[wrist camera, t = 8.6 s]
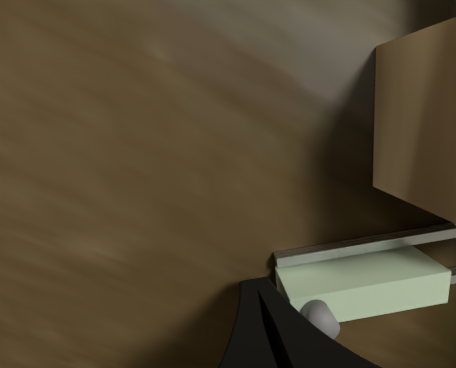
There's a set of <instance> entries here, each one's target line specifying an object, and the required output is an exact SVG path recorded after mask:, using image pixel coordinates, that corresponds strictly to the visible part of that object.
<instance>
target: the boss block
mask: <svg viewBox="0 0 456 368" xmlns="http://www.w3.org/2000/svg"><path fill="white" fill-rule="evenodd" d="M373 187H375V188H377V189H380V190H382V191H384V192H386V193H389V194H391V195H393V196H395V197H397V198H400V199H402V200H404V201H406V202H408V203H411V204H413V205H415V206H417V207H419V208H422V209H424V210H426V211H428V212H431V213H433V214H435V215H437V216H439V217H442V218H444V219H446V220H448V221H450V222H453V223H455V224H456V17H454V18H451V19H449V20H446V21H443V22H441V23H438V24H435V25H432V26H430V27H427V28H424V29H422V30H419V31H416V32H414V33H411V34H408V35H405V36H403V37H400V38H397V39H395V40H392V41H389V42H387V43H384V44H381V45H378V46H376V70H375V113H374V155H373Z"/></svg>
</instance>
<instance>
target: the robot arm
mask: <svg viewBox="0 0 456 368" xmlns="http://www.w3.org/2000/svg"><path fill="white" fill-rule="evenodd" d="M239 290H240V291H239V302H238V308H237V313H236V318H235V322H234V326H233V329H232V333H231V336H230V339H229V342H228V345H227V348H226V350H225V353H224V355H223V358H222V360H221V362H220V365H219V367H218V368H382V367H379V366H377V365H375V364H373V363H371V362H369V361H368V360H366V359H364V358H362V357H360V356H359V355H357V354H355V353H353V352H352V351H350V350H349V349H347V348H345V347H344V346H342V345H341V344H339V343H338V342H336V341H334V340H333V339H332V338H330V337H329V336H328V335H326V334H325V333H323V332H322V331H321V330H320V329H318V328H317V327H316V326H314V325H313V324H312V323H311V322H310V321H308V320H307V319H306V318H305V317H304V316H303V315H302V314H301V313H300V312H298V311H297V310H296V309H295V308H294V307H293V306H292V305H291V304H290V303H289V302H288V301H287V299H286V298H285V297H284V296H283V295H282V294H281V293H280V292H279V291H278V290H277V288H276V287H275V286H274V285H273V283H272V282H271V281H270V279H269V278H267V277H262V278H256V279H250V280H244V281H241V282H240V283H239Z"/></svg>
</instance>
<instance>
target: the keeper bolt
mask: <svg viewBox="0 0 456 368" xmlns="http://www.w3.org/2000/svg"><path fill="white" fill-rule="evenodd" d="M275 274H276V285H277V290H278V291H279V292H280V293H281V294H282V295H283V296H284V297H285V298H286V299H287V301H288V302H289V303H290V304H291V305H292V306H293V307H294V308H295V309H296V310H297V311H298V312H300V313H301V314H302V315H303V316H304V317H305V318H306V319H307V320H308V321H310V322H311V323H312V324H313V325H314V326H316V327H317V328H318V329H320V330H321V331H322V332H323V333H325V334H326V335H328V336H329V337H330V338H332V339H334V338H336V336H337V335H338V334H339V331H340V325H339V323H338V322H343V321H349V320H354V319H360V318H365V317H371V316H376V315H382V314H387V313H392V312H398V311H403V310H409V309H414V308H420V307H425V306H431V305H436V304H442V303H447V302H448V295H449V287H450V279H451V271H450V270H449V269H447V268H446V267H444V266H443V265H441V264H440V263H438V262H436V261H435V260H433V259H432V258H430V257H429V256H427V255H426V254H424V253H423V252H421V251H420V250H418V249H417V248H415V247H413V246H412V245H410V246H404V247H399V248H393V249H387V250H381V251H375V252H369V253H363V254H358V255H352V256H346V257H340V258H334V259H328V260H322V261H316V262H311V263H305V264H299V265H293V266H287V267H281V268H277V266H275Z"/></svg>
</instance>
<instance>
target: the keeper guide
mask: <svg viewBox="0 0 456 368" xmlns="http://www.w3.org/2000/svg"><path fill="white" fill-rule="evenodd" d="M451 238H456V226H455V225H454V224H453V223H452V222H451V223H445V224H439V225H433V226H427V227H421V228H415V229H409V230H403V231H397V232H391V233H385V234H379V235H373V236H368V237H362V238H356V239H350V240H344V241H338V242H332V243H326V244H320V245H314V246H308V247H302V248H296V249H290V250H284V251H278V252H273V253H274V262H275V264H276V266H277V268H281V267H287V266H293V265H299V264H305V263H311V262H316V261H322V260H328V259H334V258H340V257H346V256H352V255H358V254H363V253H369V252H375V251H381V250H387V249H393V248H399V247H404V246H410V245H416V244H422V243H428V242H434V241H440V240H445V239H451ZM447 269H449V270H450V271H451V279H450V284H454V283H456V267H451V268H447Z"/></svg>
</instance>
